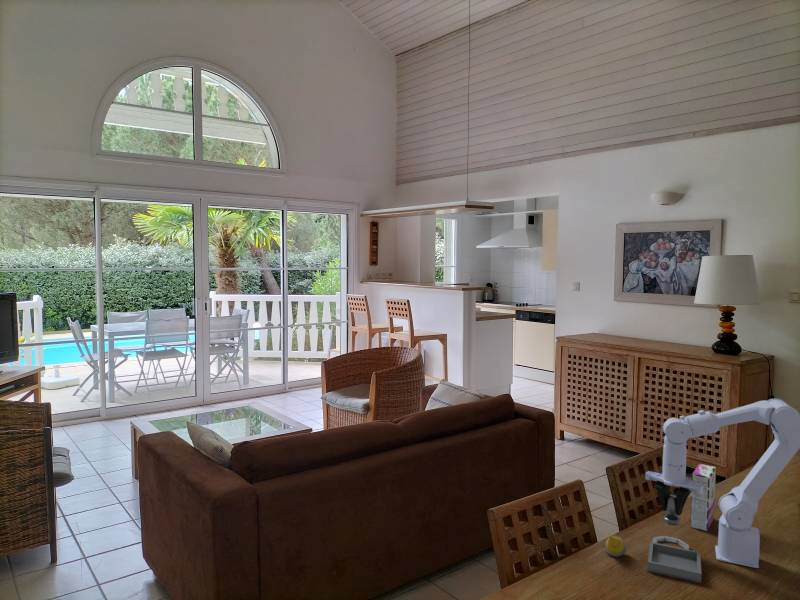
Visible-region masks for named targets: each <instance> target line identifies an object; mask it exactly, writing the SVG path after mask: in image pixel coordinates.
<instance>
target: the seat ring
mask: <svg viewBox="0 0 800 600" xmlns="http://www.w3.org/2000/svg"><path fill="white" fill-rule="evenodd" d="M652 542H654V543H662V542H669V543H673V544H677V545H678V546H679V547H680V546H681V548H683V549H688V550H690V545H689V544H688V543H686V541H683V540H682V539H680V538H677V537H671V536H667V535H660V536H659V535H658V536H654V537H652Z"/></svg>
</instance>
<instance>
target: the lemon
mask: <svg viewBox="0 0 800 600" xmlns="http://www.w3.org/2000/svg"><path fill="white" fill-rule="evenodd" d="M604 549H605V551H606V552H607V554H608V555H610V556H611V557H614V558H619V557H622V556H623V555H624V554H626V551H627V544H626V542H625V540H624V539H623V538H622V537H621V536H620V535H615V534H614V535H609V536H608V537H606V539H605V541H604Z"/></svg>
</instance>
